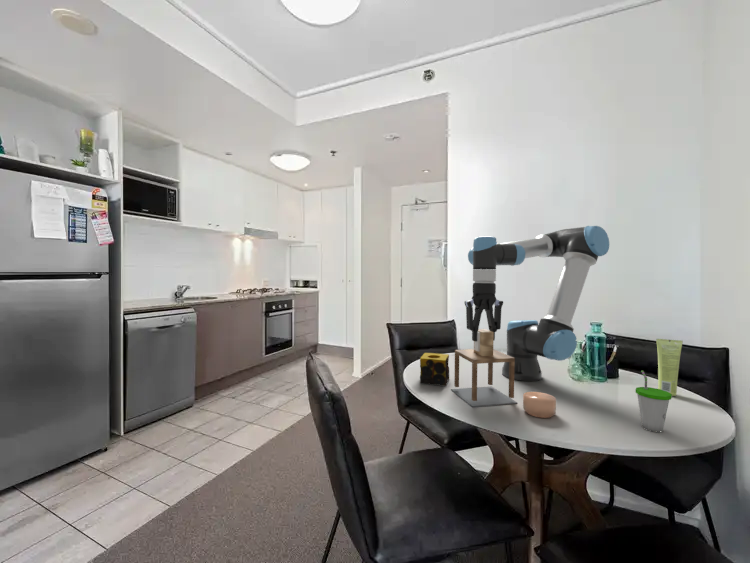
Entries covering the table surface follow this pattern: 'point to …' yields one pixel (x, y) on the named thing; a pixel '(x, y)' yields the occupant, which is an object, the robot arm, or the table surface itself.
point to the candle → (434, 369)
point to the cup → (652, 406)
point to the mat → (484, 397)
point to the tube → (668, 364)
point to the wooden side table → (484, 361)
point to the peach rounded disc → (539, 404)
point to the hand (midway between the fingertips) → (483, 350)
